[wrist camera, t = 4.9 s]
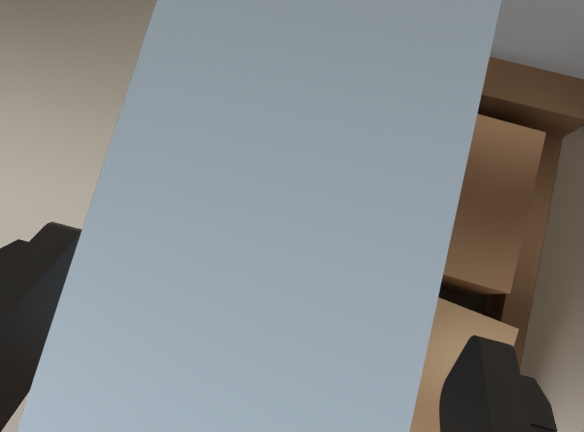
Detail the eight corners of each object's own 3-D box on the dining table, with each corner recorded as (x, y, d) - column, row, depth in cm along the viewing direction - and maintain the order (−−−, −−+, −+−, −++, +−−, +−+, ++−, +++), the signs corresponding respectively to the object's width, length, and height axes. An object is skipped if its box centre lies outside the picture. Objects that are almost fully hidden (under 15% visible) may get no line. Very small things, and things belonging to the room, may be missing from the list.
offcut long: (414, 516, 21) (443, 566, 17) (319, 476, 21) (325, 516, 17) (478, 323, 22) (519, 329, 18) (387, 288, 22) (408, 285, 18)
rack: (457, 579, 20) (497, 646, 16) (136, 488, 21) (99, 533, 17) (545, 119, 23) (597, 82, 19) (261, 50, 24) (255, 0, 20)
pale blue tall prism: (308, 372, 22) (367, 626, 5) (223, 349, 22) (-12, 517, 5) (349, 208, 23) (514, -58, 6) (267, 187, 23) (199, -131, 6)
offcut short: (471, 294, 22) (510, 293, 18) (379, 268, 22) (397, 261, 18) (502, 161, 23) (546, 132, 19) (413, 136, 23) (438, 103, 19)
